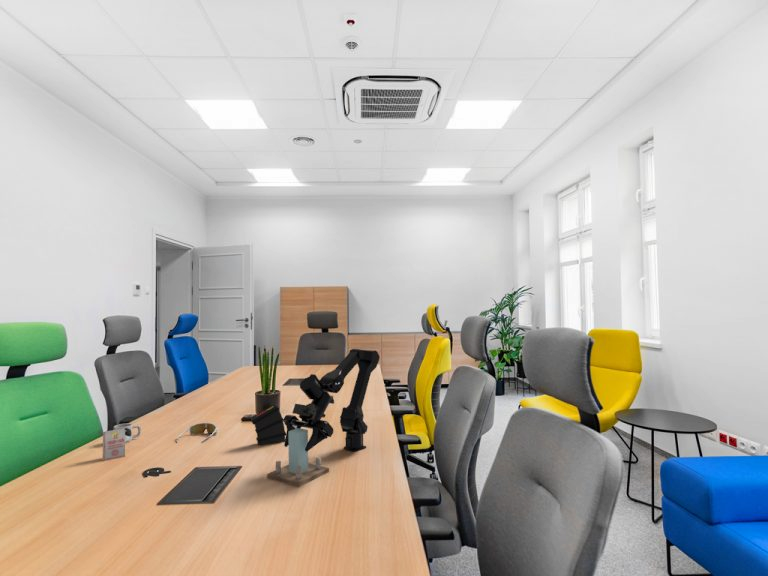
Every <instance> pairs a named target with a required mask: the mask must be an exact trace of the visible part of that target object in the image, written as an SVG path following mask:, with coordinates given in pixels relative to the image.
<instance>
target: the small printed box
mask: <svg viewBox="0 0 768 576" xmlns="http://www.w3.org/2000/svg"><path fill="white" fill-rule="evenodd" d="M124 457H126V443H125V428H124V429H118V430H114V429H113V430H106V431H103V433H102V461H108V460H110V461H111V460H115V459H119V458H124Z"/></svg>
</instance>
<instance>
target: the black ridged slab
mask: <svg viewBox="0 0 768 576" xmlns="http://www.w3.org/2000/svg"><path fill="white" fill-rule="evenodd" d="M250 419H251V424H252V425H254V428H255V429H254V430H255V434H256V438H255V439H256V442H257V446H263V445H270V444H276V443H282V442H283V443H285V438H286V433H287V431H286V430H285V424H284V422H283V419H284V418H283V417H282V413H281V411H280V407H279V406H278V405H277V404H276V403H274V404H272V405H271V406H269V407H267V408H265V409H264V410H262V411H260V412H257V414H255V415H253V416H252V417H251V416H250Z"/></svg>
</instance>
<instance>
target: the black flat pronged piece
mask: <svg viewBox="0 0 768 576" xmlns="http://www.w3.org/2000/svg"><path fill="white" fill-rule="evenodd" d="M142 472H143V473H142V476H143V478H148V476H150V477H160V475H164V474H171V473H172V471H171V470H165V468H164V467H156V466H155V467H152V468H151V467H150V468H148V469H145V470H144V471H142Z"/></svg>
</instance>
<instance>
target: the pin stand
mask: <svg viewBox="0 0 768 576" xmlns="http://www.w3.org/2000/svg"><path fill="white" fill-rule="evenodd" d="M329 472H330V467H327V466H323V465H322V458H321V457H315V464H314V463H310V462H308V470H307V471H305V472H303V473H301V466H297V467H296V474H295V473H291V472H289V464H287V465H284V466H282V461H281V460H277V461H275V469H274V470H273V471H271V472H268V473H267V474H266V477H267V479H269V480H273V481H277V482H281V483H285V484H288V485H290V486H295V487H298V488H300V487H302V486H304V485H306V484H308V483H309V482H312V481H314V480H315V479H317V478H319V477H321V476H323V475H325V474H327V473H329Z"/></svg>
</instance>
